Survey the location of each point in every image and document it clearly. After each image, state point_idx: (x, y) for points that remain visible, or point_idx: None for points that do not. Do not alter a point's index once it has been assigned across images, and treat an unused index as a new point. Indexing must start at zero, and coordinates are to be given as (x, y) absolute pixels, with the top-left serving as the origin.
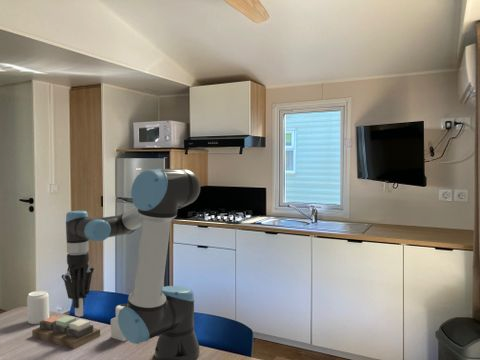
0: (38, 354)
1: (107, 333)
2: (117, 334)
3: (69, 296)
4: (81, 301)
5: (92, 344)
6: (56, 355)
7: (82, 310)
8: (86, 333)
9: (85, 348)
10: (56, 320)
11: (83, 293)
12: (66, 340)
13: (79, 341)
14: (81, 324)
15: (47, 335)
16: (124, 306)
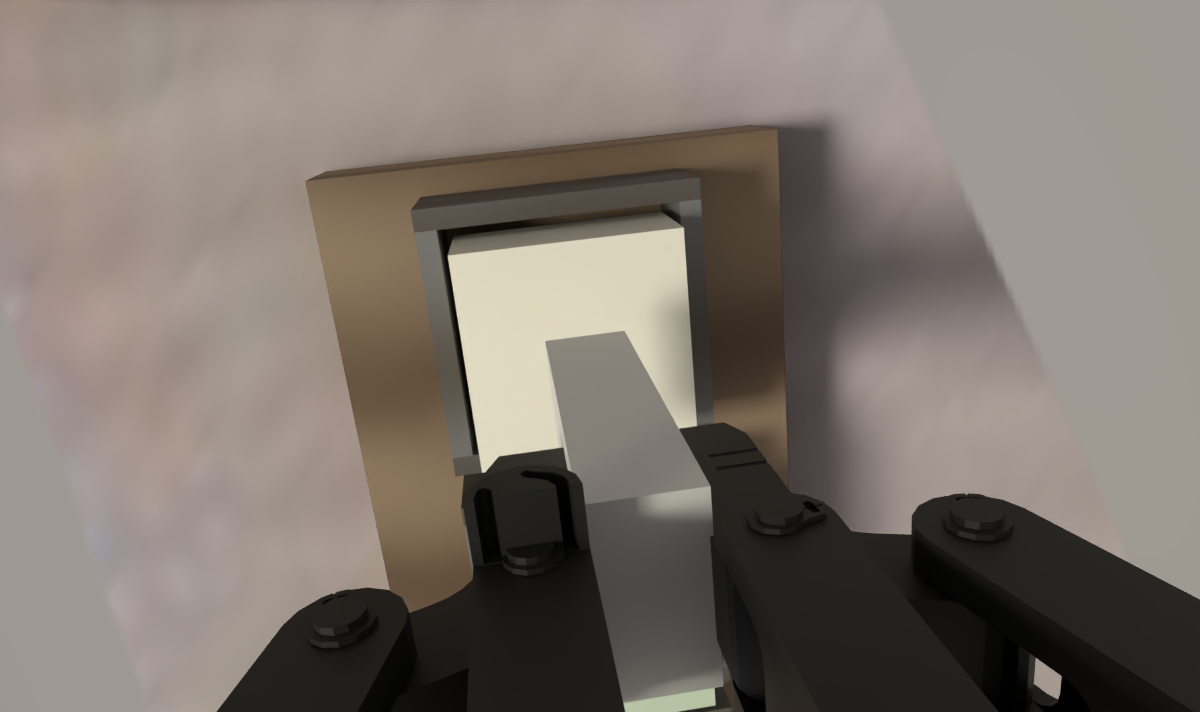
0: (1009, 346)
1: (208, 157)
2: None
3: (1034, 690)
4: (630, 456)
5: (545, 34)
6: (948, 157)
7: (574, 371)
8: (546, 184)
9: (668, 12)
10: (714, 691)
11: (551, 612)
12: (780, 275)
13: (682, 137)
14: (616, 252)
15: None
16: None
